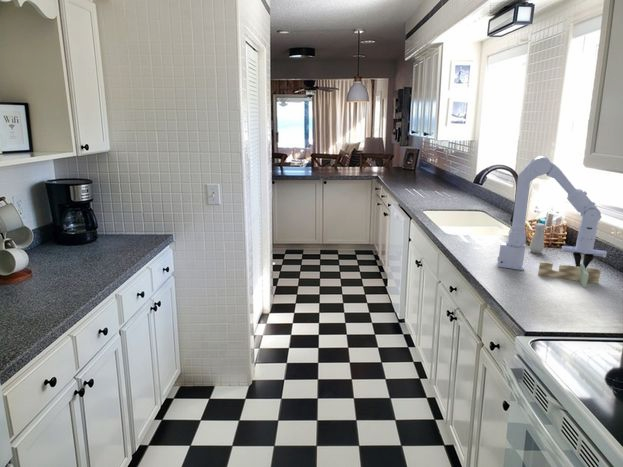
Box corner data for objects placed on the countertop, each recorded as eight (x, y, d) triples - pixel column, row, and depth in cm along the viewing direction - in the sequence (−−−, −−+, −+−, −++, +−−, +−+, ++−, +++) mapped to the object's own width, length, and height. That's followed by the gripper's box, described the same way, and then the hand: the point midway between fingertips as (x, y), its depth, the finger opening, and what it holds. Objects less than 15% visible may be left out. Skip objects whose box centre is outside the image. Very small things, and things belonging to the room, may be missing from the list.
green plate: (576, 273, 183) (578, 261, 182) (579, 274, 183) (582, 262, 181) (582, 287, 169) (584, 273, 167) (586, 287, 168) (588, 274, 167)
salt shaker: (544, 254, 208) (549, 225, 204) (530, 253, 209) (535, 224, 205) (540, 251, 213) (545, 222, 210) (527, 249, 214) (531, 221, 211)
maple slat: (538, 274, 180) (540, 262, 179) (538, 273, 181) (540, 261, 180) (598, 283, 173) (600, 270, 172) (597, 282, 174) (600, 269, 173)
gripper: (565, 237, 176) (559, 272, 179) (610, 243, 171) (603, 278, 174) (563, 233, 182) (557, 267, 185) (606, 238, 177) (599, 273, 180)
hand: (579, 272), depth 180 cm, fingers closed on green plate
